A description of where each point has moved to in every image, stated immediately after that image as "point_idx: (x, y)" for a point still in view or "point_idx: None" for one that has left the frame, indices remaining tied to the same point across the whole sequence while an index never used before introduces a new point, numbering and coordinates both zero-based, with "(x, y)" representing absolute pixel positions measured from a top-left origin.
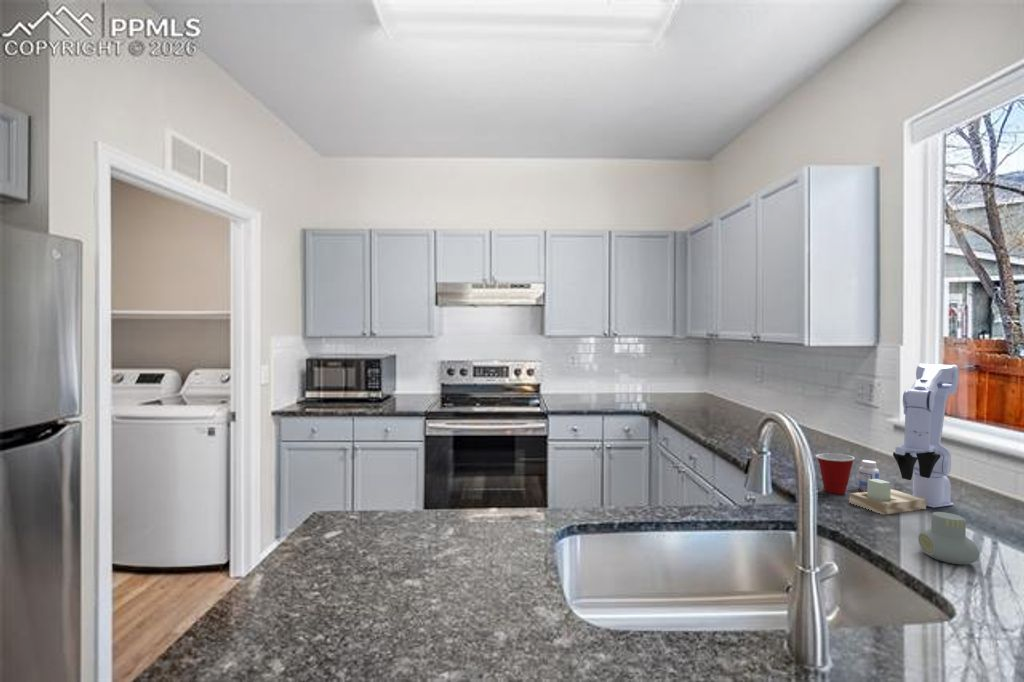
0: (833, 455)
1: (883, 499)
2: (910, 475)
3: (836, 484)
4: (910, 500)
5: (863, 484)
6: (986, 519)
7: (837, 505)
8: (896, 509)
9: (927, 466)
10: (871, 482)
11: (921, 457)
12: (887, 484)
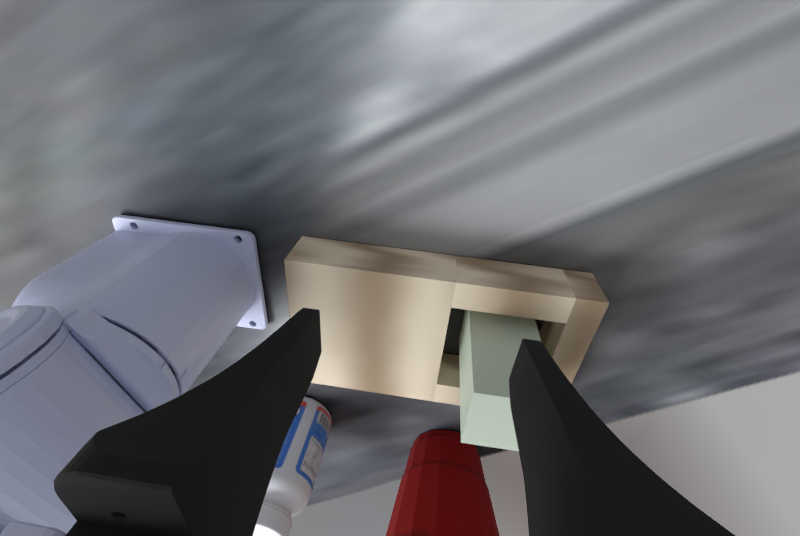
0: None
1: (518, 332)
2: (557, 366)
3: (477, 474)
4: (392, 279)
5: (325, 440)
6: (133, 30)
7: (624, 390)
8: (501, 270)
9: (278, 392)
10: None
11: (247, 506)
12: (501, 388)
